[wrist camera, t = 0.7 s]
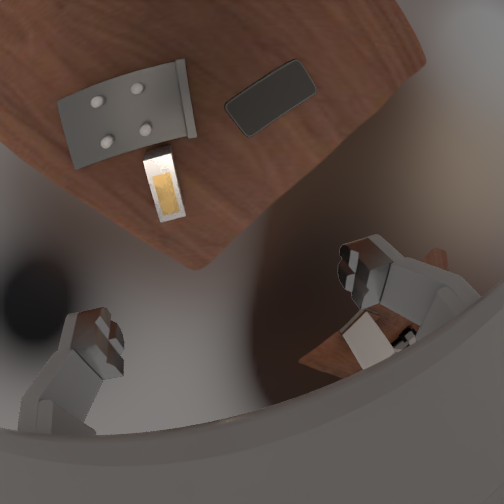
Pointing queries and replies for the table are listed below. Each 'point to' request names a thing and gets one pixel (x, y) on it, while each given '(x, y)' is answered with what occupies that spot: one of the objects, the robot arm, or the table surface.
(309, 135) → the table surface
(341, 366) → the table surface
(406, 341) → the game console
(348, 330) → the white tower box
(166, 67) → the tray
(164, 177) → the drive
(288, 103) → the smartphone
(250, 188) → the table surface
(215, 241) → the table surface
